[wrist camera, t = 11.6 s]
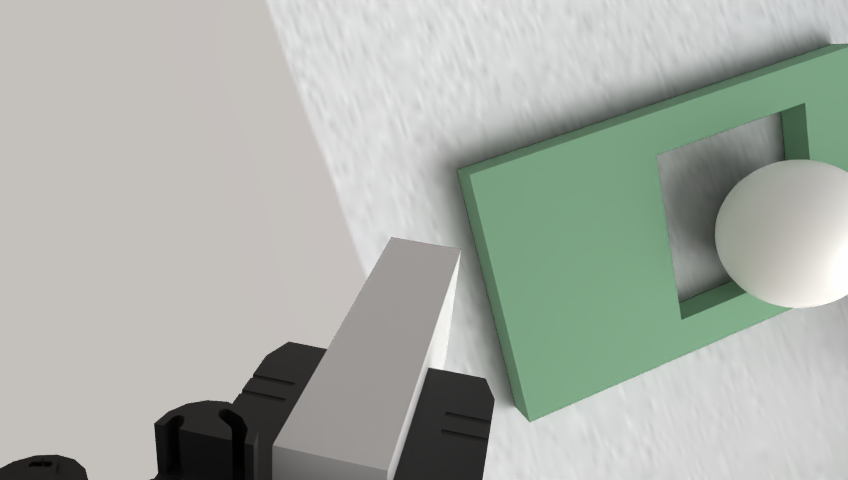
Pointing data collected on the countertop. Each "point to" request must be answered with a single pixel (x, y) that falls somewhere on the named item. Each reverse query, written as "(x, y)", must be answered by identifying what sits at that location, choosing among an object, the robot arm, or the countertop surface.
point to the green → (625, 232)
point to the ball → (787, 233)
